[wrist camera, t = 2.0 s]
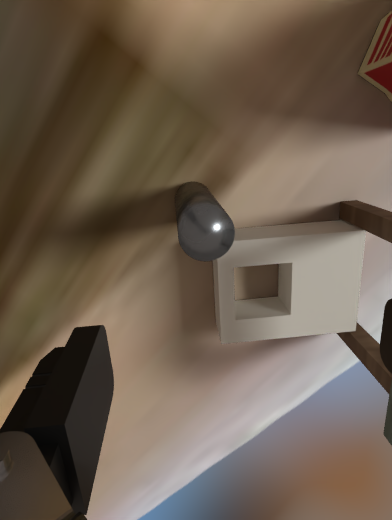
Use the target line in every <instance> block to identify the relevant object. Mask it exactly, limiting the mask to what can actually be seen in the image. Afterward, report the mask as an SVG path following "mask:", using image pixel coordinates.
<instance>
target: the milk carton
mask: <svg viewBox="0 0 392 520" xmlns="http://www.w3.org/2000/svg"><path fill="white" fill-rule="evenodd" d="M358 74H359V75H360V76H361V77H363V78H364V79H366V80H367V81H368V82H370V83H371V84H373V85H374V86H376V87H377V88H378V89H380V90H381V91H383V92H384V93H385V94H386V95H387V97H388V98H389V99H390V101H391V102H392V11H391V12H389V13H388V14H387V15H386V16H385V17H384V18H383V19H382V20H381V21H380V23H379V26H378V28H377V30H376V32H375V35H374V37H373V39H372V42H371V44H370V46H369V49H368V51H367V53H366V56H365V58H364V60H363V62H362V65H361V67H360V69H359V72H358Z"/></svg>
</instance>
